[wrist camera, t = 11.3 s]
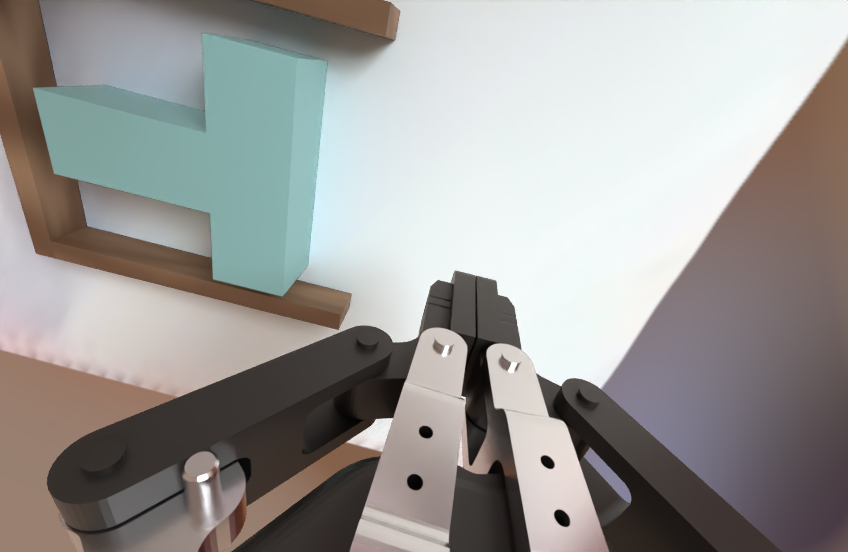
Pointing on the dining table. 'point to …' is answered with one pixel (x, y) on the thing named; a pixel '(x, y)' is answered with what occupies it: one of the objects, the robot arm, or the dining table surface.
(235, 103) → the T-block
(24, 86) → the bay
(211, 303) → the dining table surface
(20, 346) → the dining table surface
